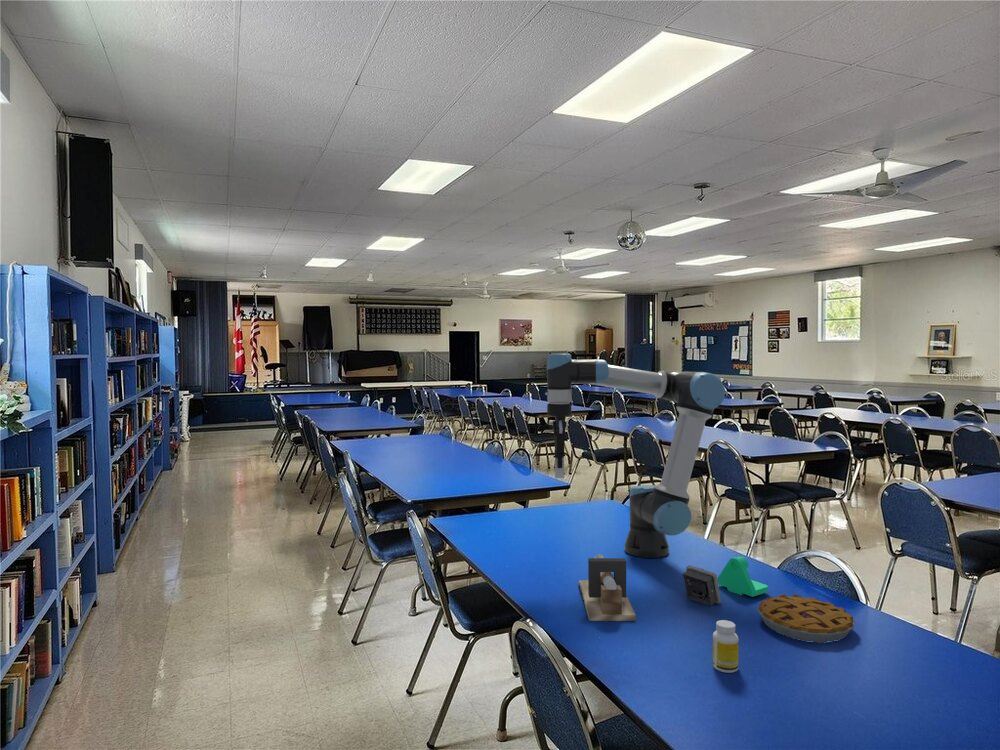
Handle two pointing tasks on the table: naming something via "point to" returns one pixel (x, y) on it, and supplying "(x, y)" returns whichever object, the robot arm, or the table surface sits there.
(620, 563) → the collar
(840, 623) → the pie
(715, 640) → the supplement bottle
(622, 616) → the pipe stand
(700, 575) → the electrical switch
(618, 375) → the robot arm
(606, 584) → the pipe
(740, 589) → the camera mount
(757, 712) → the table surface
